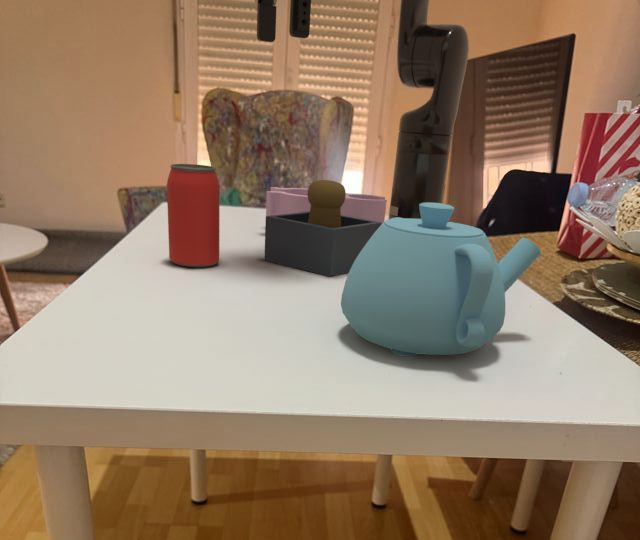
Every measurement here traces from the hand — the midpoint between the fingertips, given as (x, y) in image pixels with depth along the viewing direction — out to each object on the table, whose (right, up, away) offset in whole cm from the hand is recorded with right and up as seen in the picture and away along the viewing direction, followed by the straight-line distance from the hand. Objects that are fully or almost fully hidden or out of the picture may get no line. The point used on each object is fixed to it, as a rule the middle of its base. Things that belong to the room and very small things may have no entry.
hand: (281, 39), depth 73 cm
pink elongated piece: (+5, -12, +36) cm, 38 cm away
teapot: (+16, -37, -12) cm, 42 cm away
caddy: (+5, -22, +16) cm, 28 cm away
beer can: (-12, -24, +10) cm, 29 cm away
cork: (+5, -22, +16) cm, 28 cm away
